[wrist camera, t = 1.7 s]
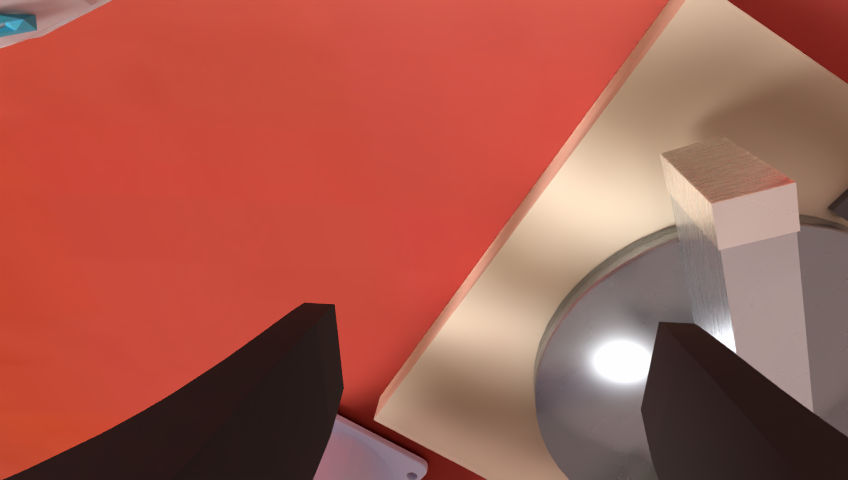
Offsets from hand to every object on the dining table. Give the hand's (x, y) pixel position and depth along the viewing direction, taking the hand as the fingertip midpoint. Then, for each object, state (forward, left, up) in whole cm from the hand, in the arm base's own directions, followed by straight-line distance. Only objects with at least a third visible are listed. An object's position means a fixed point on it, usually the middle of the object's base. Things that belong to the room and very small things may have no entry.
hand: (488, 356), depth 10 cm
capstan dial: (-1, -10, -9) cm, 14 cm away
